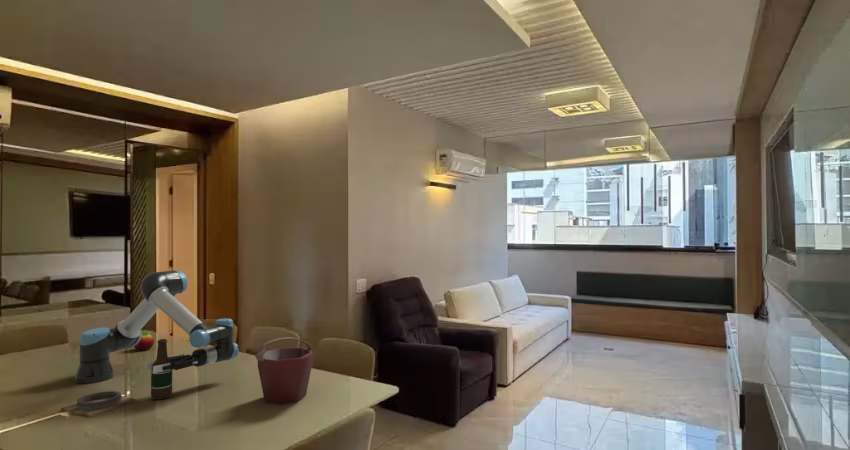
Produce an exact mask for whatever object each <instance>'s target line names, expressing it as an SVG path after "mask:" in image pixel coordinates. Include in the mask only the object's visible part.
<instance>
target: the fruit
mask: <svg viewBox="0 0 850 450" xmlns="http://www.w3.org/2000/svg"><path fill="white" fill-rule="evenodd" d="M140 337H141V338H140V341H139V342H138V343H137V344H136V345H135V346H133V347H134V349H135V350H136V351H138V352H140V351H141V352H143V351H148V350H150V349H152V348H153V346H154V344H155V339H154V337H153V335H151V332H150V331H146V332H142V333H141V336H140Z"/></svg>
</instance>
